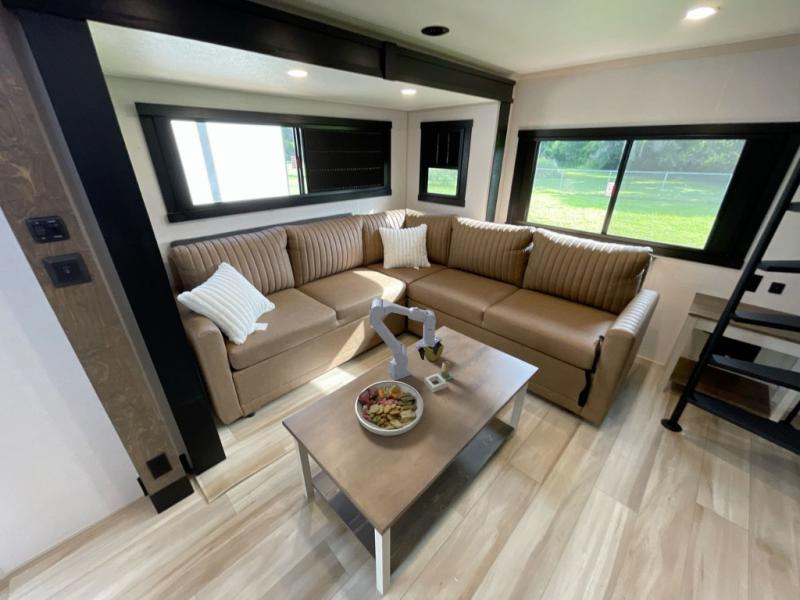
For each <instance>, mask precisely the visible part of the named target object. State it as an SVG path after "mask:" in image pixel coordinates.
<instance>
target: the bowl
mask: <svg viewBox="0 0 800 600" xmlns="http://www.w3.org/2000/svg"><path fill="white" fill-rule="evenodd" d="M354 407H355V409H354V410H355V414H356V418H357V419H358V422H359V423H360V424H361V425H362V426H363V428H365V429H366V430H368V431H369V432H370V433H373V434H376V435H380V436H385V437H386V436H388V437H389V436H397V435H401V434H404V433H407V432H408V431H411V430H412V429H413V428H414V427H415V426H416V425H417V424H418V423H419V421H420V419H421V418H422V415H423V412H424V401H423V397H422V396H421V394H420V393H419V391H418V390H417V389H416V388H414V387H413V386H411V385H410V384H407V383H406V382H405V383H404V382H402V381H398V380H382V381H378V382H374V383H371V384H370V385H368V386H367V387H366V388H364V389H363V390H362V391H361V392H360V393H359V394H358V396H357V398H356V400H355V404H354Z"/></svg>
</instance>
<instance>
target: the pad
mask: <svg viewBox="0 0 800 600" xmlns="http://www.w3.org/2000/svg"><path fill="white" fill-rule="evenodd" d="M441 373H442V372H440V373H438V374H439V375H440V376H441ZM443 379H444V380H445V381H446V382H447V381H449V380H452V379H454V377H453V376H452V374H450V373H449V378H447V379H445V378H443Z"/></svg>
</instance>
